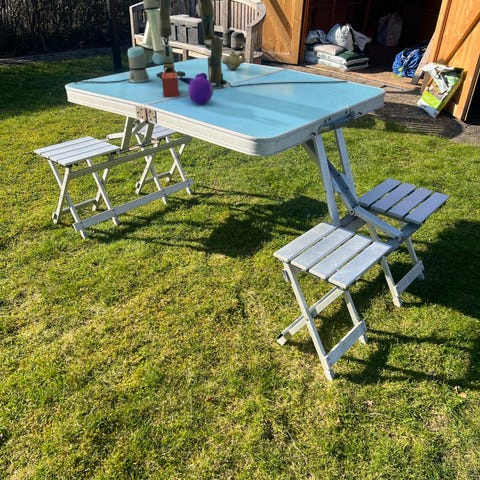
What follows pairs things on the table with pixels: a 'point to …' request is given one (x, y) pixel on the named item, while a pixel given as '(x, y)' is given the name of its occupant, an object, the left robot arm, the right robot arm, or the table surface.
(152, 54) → the left robot arm
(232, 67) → the teapot
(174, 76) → the lid
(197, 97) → the toy
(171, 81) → the chest
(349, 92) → the table surface
